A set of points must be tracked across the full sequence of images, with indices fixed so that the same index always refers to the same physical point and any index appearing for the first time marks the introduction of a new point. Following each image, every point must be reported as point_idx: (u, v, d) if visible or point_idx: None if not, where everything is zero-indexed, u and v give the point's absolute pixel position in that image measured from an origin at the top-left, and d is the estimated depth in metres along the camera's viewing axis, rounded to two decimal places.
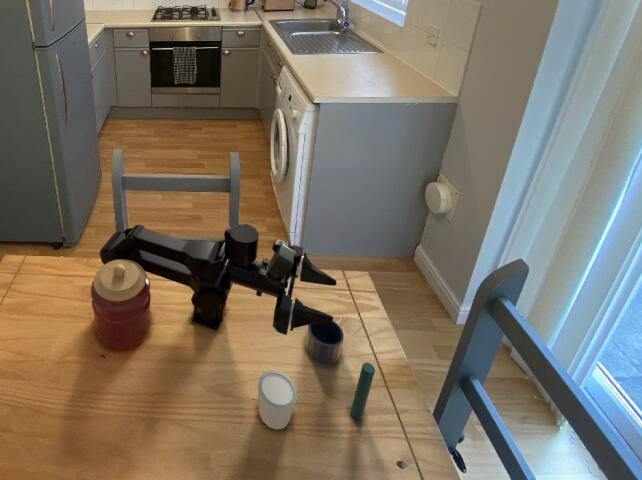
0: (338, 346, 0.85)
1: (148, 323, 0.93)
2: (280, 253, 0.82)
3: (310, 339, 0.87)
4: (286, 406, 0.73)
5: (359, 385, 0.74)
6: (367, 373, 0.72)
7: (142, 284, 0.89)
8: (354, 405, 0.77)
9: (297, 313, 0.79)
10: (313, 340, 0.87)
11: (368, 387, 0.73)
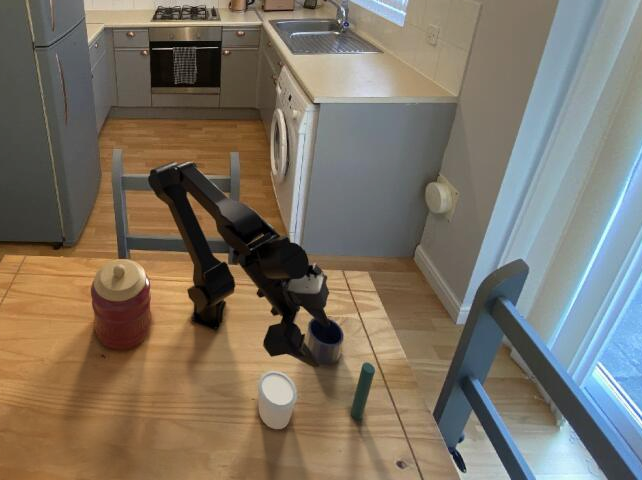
0: (338, 346, 0.85)
1: (148, 323, 0.93)
2: (321, 289, 0.71)
3: (310, 339, 0.87)
4: (286, 406, 0.73)
5: (359, 385, 0.74)
6: (367, 373, 0.72)
7: (142, 284, 0.89)
8: (354, 405, 0.77)
9: None
10: (313, 340, 0.87)
11: (368, 387, 0.73)
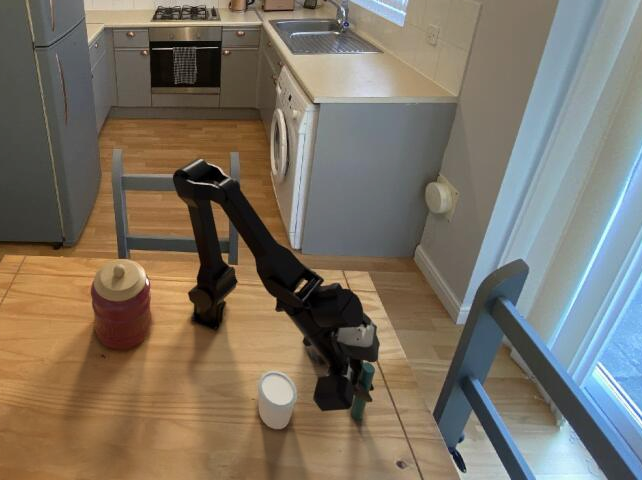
0: None
1: (148, 323, 0.93)
2: (373, 342, 0.70)
3: None
4: (286, 406, 0.73)
5: None
6: (367, 372, 0.72)
7: (142, 284, 0.89)
8: (354, 405, 0.77)
9: None
10: None
11: (368, 386, 0.73)
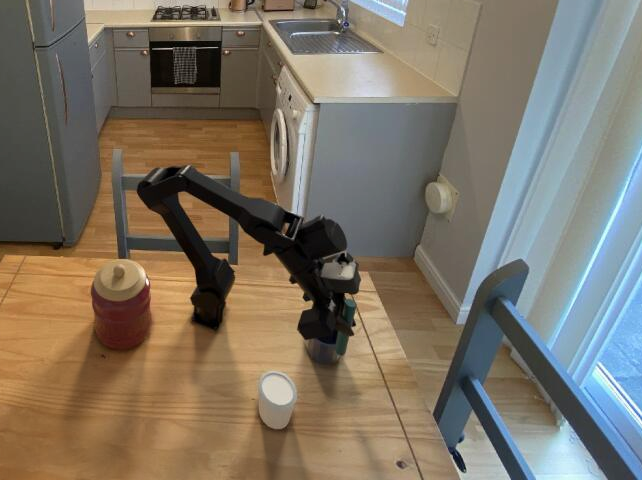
0: None
1: (148, 323, 0.93)
2: (354, 275, 0.74)
3: (310, 339, 0.87)
4: (286, 406, 0.73)
5: None
6: (349, 307, 0.77)
7: (142, 284, 0.89)
8: (337, 341, 0.81)
9: None
10: (313, 340, 0.87)
11: (350, 321, 0.78)
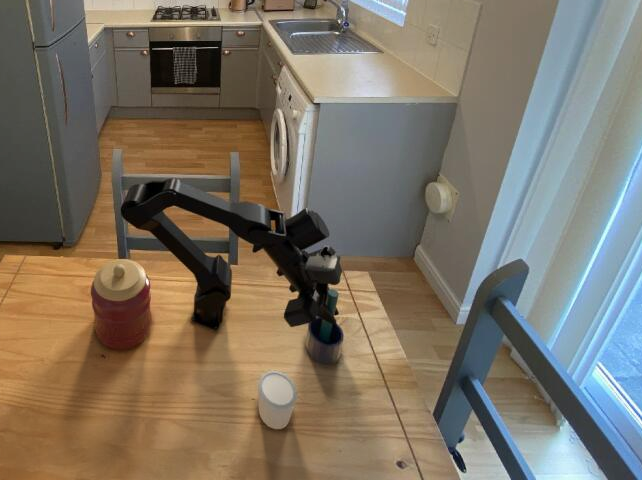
0: (338, 346, 0.85)
1: (148, 323, 0.93)
2: (335, 267, 0.80)
3: (310, 339, 0.87)
4: (286, 406, 0.73)
5: None
6: (331, 297, 0.83)
7: (142, 284, 0.89)
8: (322, 329, 0.87)
9: None
10: (313, 340, 0.87)
11: (333, 310, 0.84)
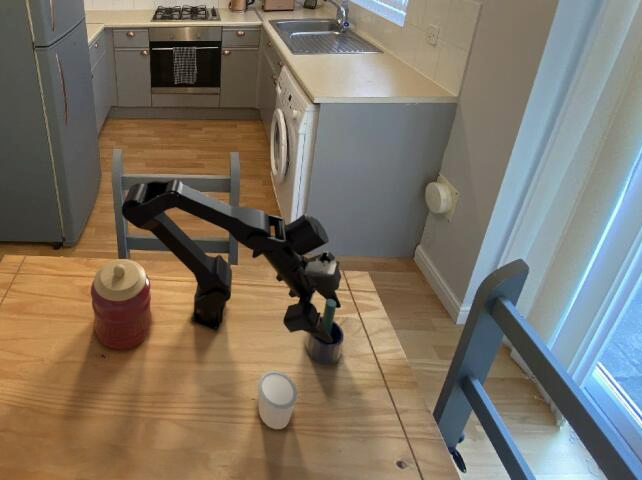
0: (338, 346, 0.85)
1: (148, 323, 0.93)
2: (334, 273, 0.81)
3: (310, 339, 0.87)
4: (286, 406, 0.73)
5: (323, 319, 0.86)
6: (329, 307, 0.84)
7: (142, 284, 0.89)
8: None
9: None
10: (313, 340, 0.87)
11: (330, 319, 0.85)
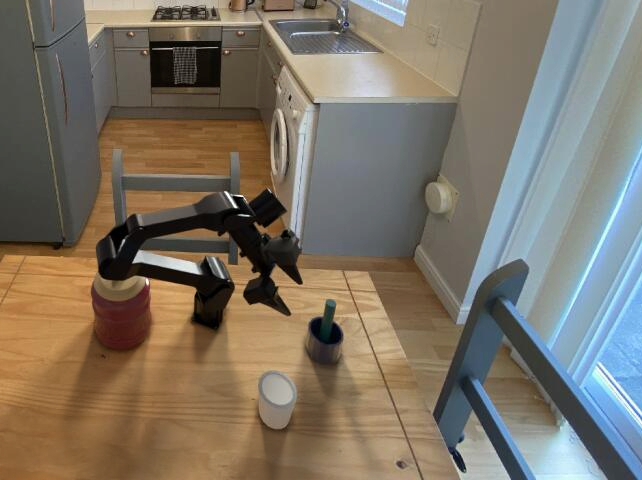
0: (338, 346, 0.85)
1: (148, 323, 0.93)
2: (292, 248, 0.84)
3: (310, 339, 0.87)
4: (286, 406, 0.73)
5: (323, 319, 0.86)
6: (329, 307, 0.84)
7: (142, 284, 0.89)
8: (320, 338, 0.88)
9: None
10: (313, 340, 0.87)
11: (330, 319, 0.85)
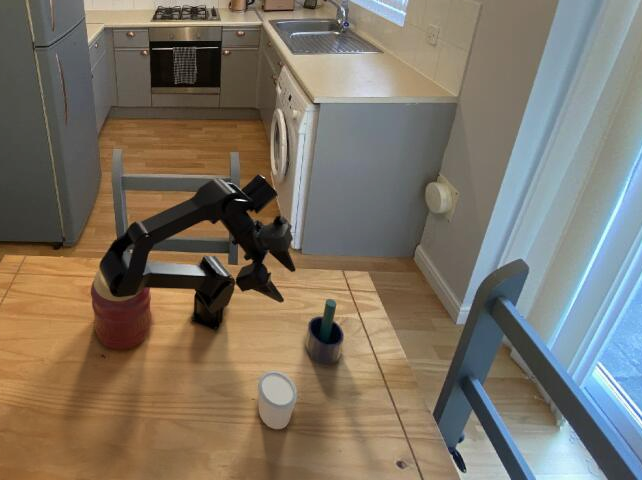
0: (338, 346, 0.85)
1: (148, 323, 0.93)
2: (285, 234, 0.83)
3: (310, 339, 0.87)
4: (286, 406, 0.73)
5: (323, 319, 0.86)
6: (329, 307, 0.84)
7: None
8: (320, 338, 0.88)
9: None
10: (313, 340, 0.87)
11: (330, 319, 0.85)
